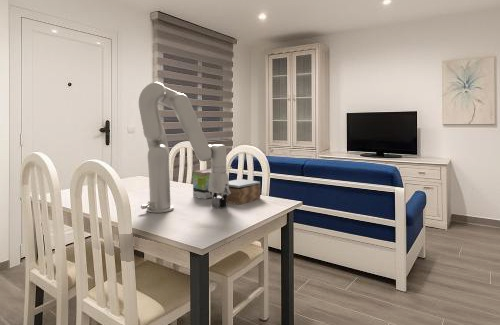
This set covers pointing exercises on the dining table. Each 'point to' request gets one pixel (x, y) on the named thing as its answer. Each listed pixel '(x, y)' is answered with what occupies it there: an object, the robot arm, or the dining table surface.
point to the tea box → (201, 184)
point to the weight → (216, 202)
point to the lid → (242, 183)
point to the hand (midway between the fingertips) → (219, 205)
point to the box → (243, 194)
